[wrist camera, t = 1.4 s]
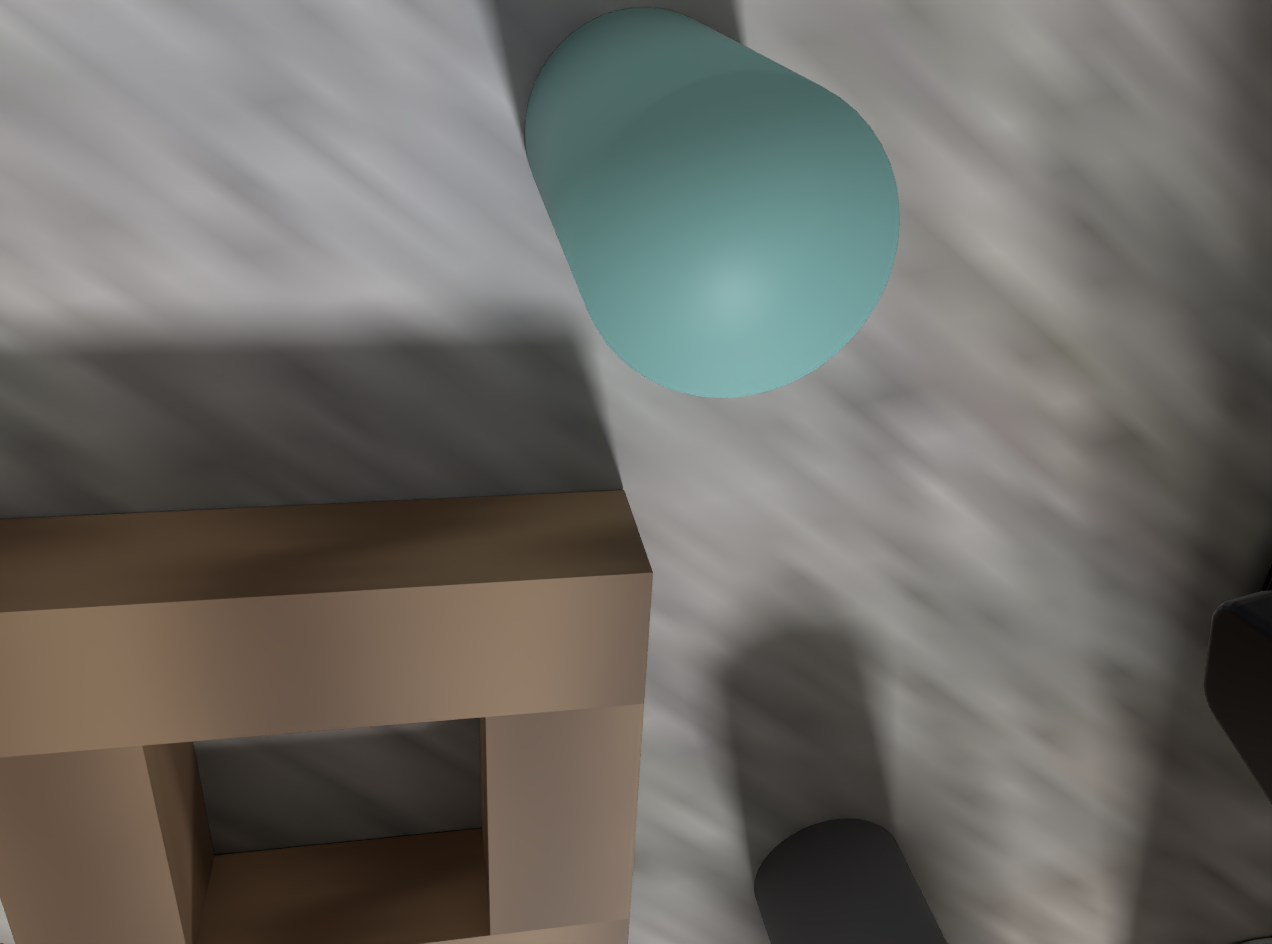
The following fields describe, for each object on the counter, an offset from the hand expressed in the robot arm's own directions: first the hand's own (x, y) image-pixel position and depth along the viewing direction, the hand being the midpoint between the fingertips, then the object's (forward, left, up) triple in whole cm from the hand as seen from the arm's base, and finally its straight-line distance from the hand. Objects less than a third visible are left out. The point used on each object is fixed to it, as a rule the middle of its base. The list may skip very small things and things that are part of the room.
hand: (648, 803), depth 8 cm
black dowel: (-8, +17, -13) cm, 23 cm away
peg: (-2, -2, -13) cm, 14 cm away
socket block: (+4, +11, -13) cm, 17 cm away
